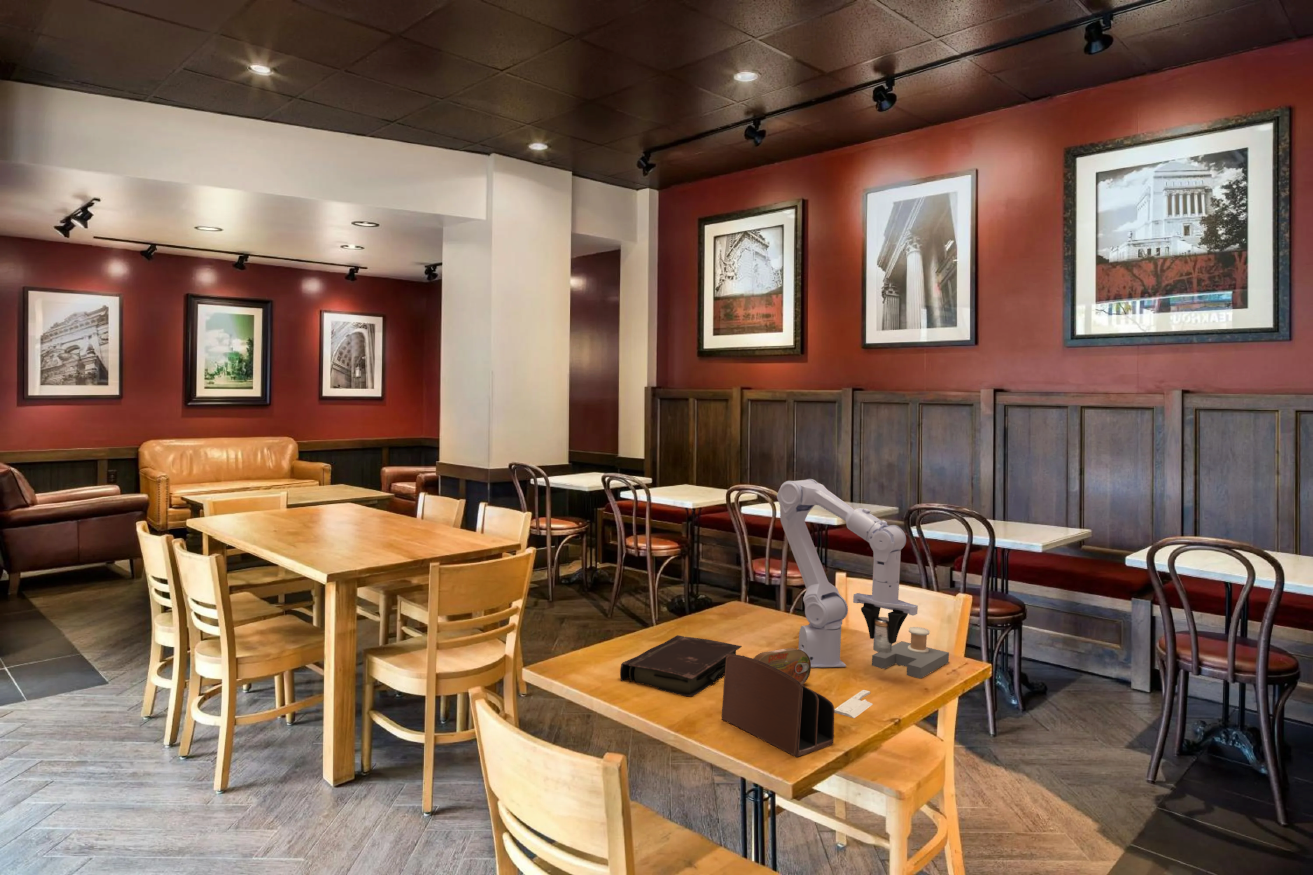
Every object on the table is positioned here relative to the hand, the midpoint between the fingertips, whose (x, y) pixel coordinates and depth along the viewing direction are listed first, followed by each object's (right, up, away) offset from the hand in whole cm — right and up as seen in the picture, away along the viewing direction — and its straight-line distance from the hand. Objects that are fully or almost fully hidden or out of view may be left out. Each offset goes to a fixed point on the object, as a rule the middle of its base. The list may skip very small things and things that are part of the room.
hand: (882, 640), depth 182 cm
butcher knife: (-9, -10, -15) cm, 20 cm away
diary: (-45, -8, +1) cm, 45 cm away
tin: (-24, -9, -7) cm, 27 cm away
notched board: (+10, -9, +12) cm, 18 cm away
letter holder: (-28, -10, -30) cm, 42 cm away
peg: (0, -2, 0) cm, 2 cm away
